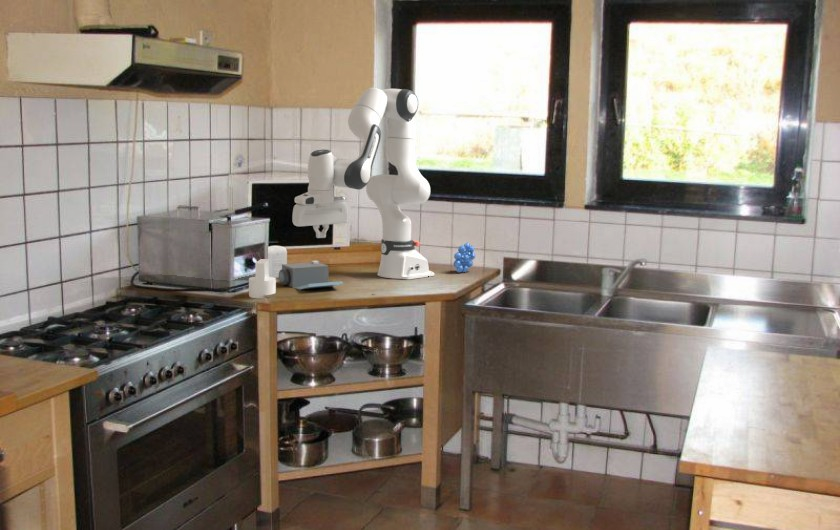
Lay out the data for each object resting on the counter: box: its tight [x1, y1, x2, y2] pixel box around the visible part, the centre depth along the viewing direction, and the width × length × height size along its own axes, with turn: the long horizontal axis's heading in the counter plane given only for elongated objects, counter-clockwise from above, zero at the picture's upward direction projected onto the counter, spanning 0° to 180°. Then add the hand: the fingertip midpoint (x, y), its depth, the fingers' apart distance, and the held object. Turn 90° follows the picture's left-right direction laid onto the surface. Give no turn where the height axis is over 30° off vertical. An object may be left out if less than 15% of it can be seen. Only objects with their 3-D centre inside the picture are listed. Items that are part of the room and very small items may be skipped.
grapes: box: [453, 242, 476, 273], centre depth 371 cm, size 12×7×12 cm, turn 133°
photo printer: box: [267, 245, 288, 279], centre depth 346 cm, size 10×4×12 cm, turn 134°
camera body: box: [278, 260, 329, 288], centre depth 331 cm, size 16×9×9 cm, turn 123°
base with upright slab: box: [248, 258, 277, 299], centre depth 313 cm, size 9×9×12 cm
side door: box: [295, 280, 344, 290], centre depth 323 cm, size 13×1×12 cm
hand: (321, 237), depth 320 cm, fingers closed
